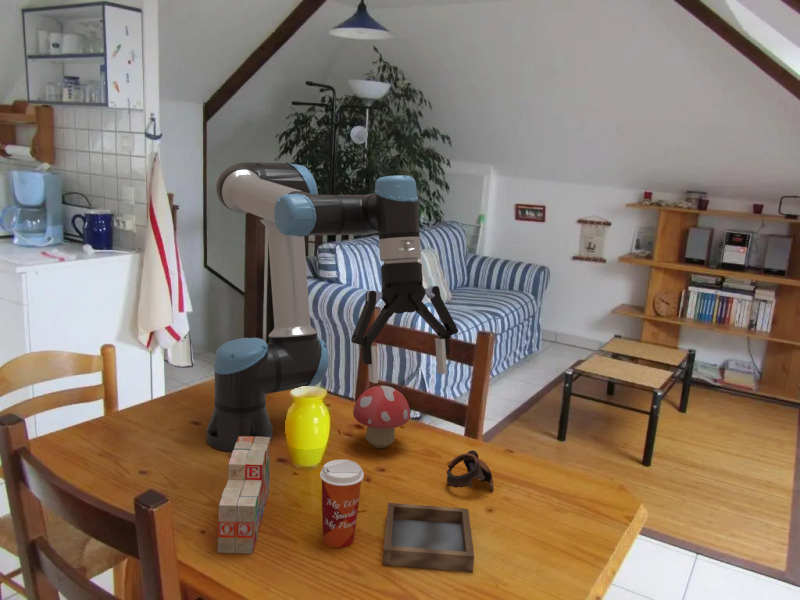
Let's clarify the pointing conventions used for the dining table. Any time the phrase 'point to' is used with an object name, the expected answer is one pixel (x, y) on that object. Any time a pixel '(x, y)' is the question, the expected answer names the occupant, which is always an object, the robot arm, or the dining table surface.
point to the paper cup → (340, 501)
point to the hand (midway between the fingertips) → (408, 377)
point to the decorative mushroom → (381, 414)
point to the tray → (428, 537)
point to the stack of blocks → (244, 495)
